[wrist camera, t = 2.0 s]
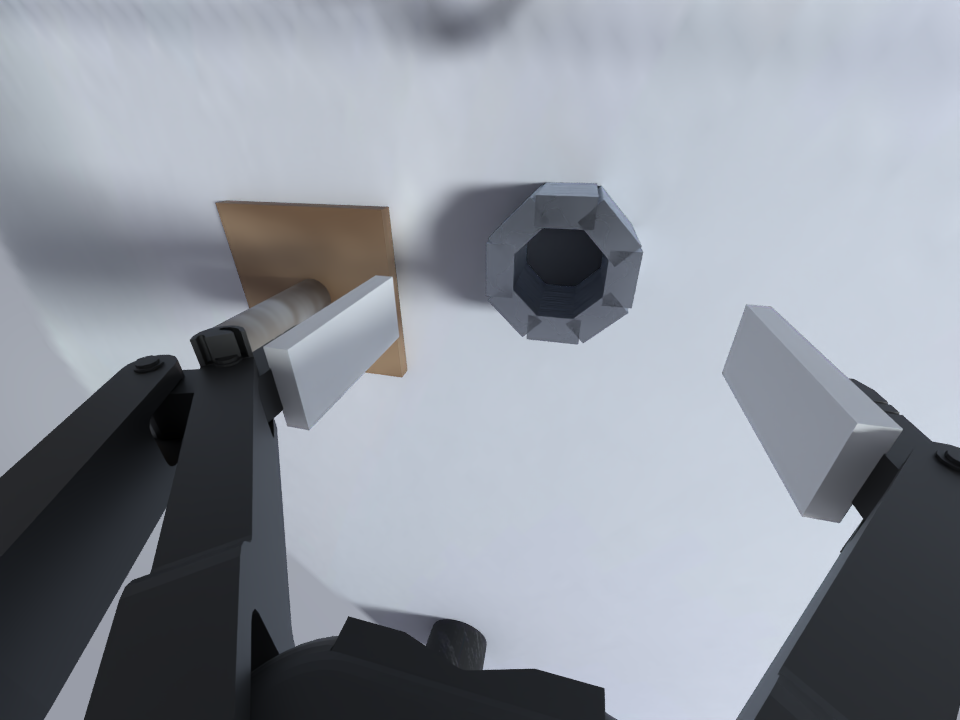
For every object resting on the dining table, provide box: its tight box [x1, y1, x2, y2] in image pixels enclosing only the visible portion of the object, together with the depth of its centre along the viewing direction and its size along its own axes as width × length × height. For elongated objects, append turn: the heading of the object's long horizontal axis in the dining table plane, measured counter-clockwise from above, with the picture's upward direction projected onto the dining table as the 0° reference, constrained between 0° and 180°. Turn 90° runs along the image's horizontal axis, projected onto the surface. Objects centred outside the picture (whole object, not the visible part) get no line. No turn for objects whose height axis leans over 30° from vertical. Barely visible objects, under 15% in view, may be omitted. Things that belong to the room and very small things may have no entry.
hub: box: [486, 182, 643, 344], centre depth 21 cm, size 7×7×5 cm
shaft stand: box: [213, 201, 407, 377], centre depth 25 cm, size 12×12×9 cm
